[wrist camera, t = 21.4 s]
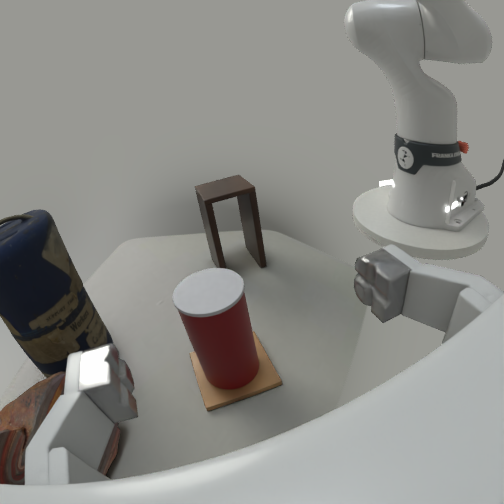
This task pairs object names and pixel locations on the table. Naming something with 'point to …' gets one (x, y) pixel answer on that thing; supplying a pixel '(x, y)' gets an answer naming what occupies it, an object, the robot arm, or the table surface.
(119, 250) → the table surface
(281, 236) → the table surface
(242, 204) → the brown wooden stand
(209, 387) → the coaster
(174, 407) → the table surface
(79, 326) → the canister
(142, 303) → the table surface
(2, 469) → the stone
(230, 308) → the tube
